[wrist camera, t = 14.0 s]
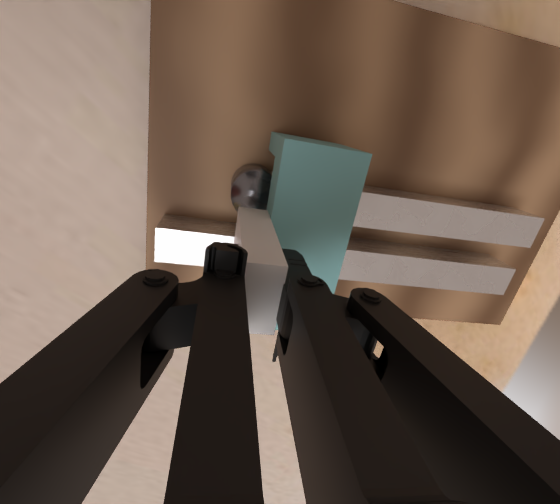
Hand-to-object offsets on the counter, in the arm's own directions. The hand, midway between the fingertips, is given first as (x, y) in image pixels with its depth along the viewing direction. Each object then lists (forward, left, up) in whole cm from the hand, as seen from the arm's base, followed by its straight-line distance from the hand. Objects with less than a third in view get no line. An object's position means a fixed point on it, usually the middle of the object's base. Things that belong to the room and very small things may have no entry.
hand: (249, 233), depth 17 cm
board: (+8, +3, -5) cm, 10 cm away
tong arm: (+8, +2, -4) cm, 9 cm away
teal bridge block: (+3, 0, -4) cm, 5 cm away
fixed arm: (+7, -2, -4) cm, 8 cm away
